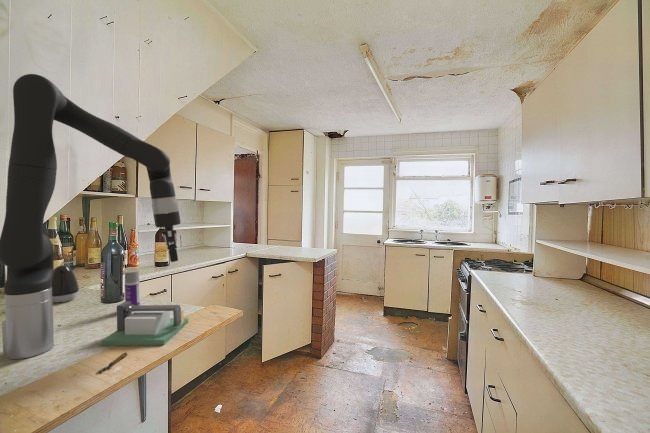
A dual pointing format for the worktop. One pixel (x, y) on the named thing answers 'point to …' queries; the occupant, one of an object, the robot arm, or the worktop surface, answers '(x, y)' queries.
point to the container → (132, 287)
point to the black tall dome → (64, 284)
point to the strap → (174, 308)
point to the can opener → (113, 362)
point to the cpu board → (145, 338)
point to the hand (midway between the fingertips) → (174, 259)
